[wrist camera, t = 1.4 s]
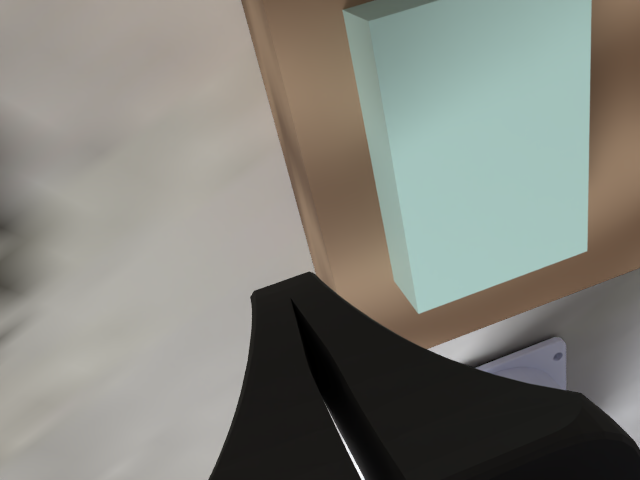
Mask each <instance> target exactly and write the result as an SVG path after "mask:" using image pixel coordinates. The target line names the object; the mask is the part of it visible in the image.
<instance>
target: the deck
mask: <svg viewBox="0 0 640 480" xmlns="http://www.w3.org/2000/svg"><path fill="white" fill-rule="evenodd" d="M241 1H242V5H243V8H244V12H245V16H246V19H247V23H248V27H249V30H250V34H251V38H252V41H253V45H254V48H255V52H256V56H257V59H258V63H259V67H260V70H261V74H262V78H263V81H264V85H265V89H266V92H267V96H268V100H269V103H270V107H271V111H272V114H273V118H274V122H275V125H276V129H277V133H278V136H279V140H280V144H281V147H282V151H283V155H284V158H285V162H286V166H287V169H288V173H289V177H290V180H291V184H292V188H293V191H294V195H295V199H296V202H297V206H298V210H299V213H300V217H301V221H302V224H303V228H304V232H305V235H306V239H307V243H308V246H309V250H310V254H311V257H312V261H313V265H314V268H315V272H316V275H317V276H318V277H319V278H320V279H321V280H322V281H323V282H324V283H325V284H326V285H327V286H328V287H330V288H331V289H332V290H333V291H334V292H336V293H337V294H338V295H339V296H341V297H342V298H343V299H345V300H346V301H347V302H349V303H350V304H351V305H353V306H354V307H356V308H357V309H358V310H360V311H361V312H363V313H364V314H366V315H367V316H369V317H370V318H372V319H373V320H375V321H376V322H378V323H379V324H381V325H383V326H384V327H386V328H388V329H389V330H391V331H393V332H394V333H396V334H398V335H400V336H401V337H403V338H405V339H407V340H409V341H411V342H413V343H415V344H417V345H419V346H421V347H423V348H425V349H429V348H431V347H434V346H436V345H439V344H442V343H444V342H447V341H449V340H452V339H455V338H457V337H460V336H463V335H465V334H468V333H470V332H473V331H476V330H478V329H481V328H484V327H486V326H489V325H491V324H494V323H497V322H499V321H502V320H505V319H507V318H510V317H512V316H515V315H518V314H520V313H523V312H526V311H528V310H531V309H533V308H536V307H539V306H541V305H544V304H546V303H549V302H552V301H554V300H557V299H560V298H562V297H565V296H567V295H570V294H573V293H575V292H578V291H581V290H583V289H586V288H588V287H591V286H594V285H596V284H599V283H602V282H604V281H607V280H609V279H612V278H615V277H617V276H620V275H623V274H625V273H628V272H630V271H633V270H636V269H638V268H640V0H592V4H591V63H590V123H589V182H588V242H587V251H586V252H584V253H581V254H578V255H576V256H573V257H570V258H568V259H565V260H562V261H560V262H557V263H554V264H552V265H549V266H546V267H543V268H541V269H538V270H535V271H533V272H530V273H527V274H525V275H522V276H519V277H517V278H514V279H511V280H509V281H506V282H503V283H500V284H498V285H495V286H492V287H490V288H487V289H484V290H482V291H479V292H476V293H474V294H471V295H468V296H466V297H463V298H460V299H458V300H455V301H452V302H449V303H447V304H444V305H441V306H439V307H436V308H433V309H431V310H428V311H425V312H423V313H420V314H418V313H417V311H416V310H415V309H414V307H413V306H412V305H411V303H410V302H409V301H408V299H407V298H406V296H405V295H404V294H403V292H402V291H401V290H400V288H399V287H398V286H397V284H396V283H395V282H394V278H393V273H392V267H391V262H390V257H389V252H388V246H387V241H386V236H385V231H384V225H383V220H382V215H381V210H380V204H379V199H378V194H377V189H376V183H375V178H374V173H373V168H372V162H371V157H370V152H369V147H368V142H367V136H366V131H365V126H364V121H363V115H362V110H361V105H360V100H359V94H358V89H357V84H356V79H355V73H354V68H353V63H352V58H351V52H350V47H349V42H348V37H347V31H346V26H345V21H344V16H343V11H342V10H344V9H347V8H350V7H354V6H357V5H361V4H364V3H367V2H371V1H374V0H241Z"/></svg>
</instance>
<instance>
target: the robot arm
mask: <svg viewBox="0 0 640 480" xmlns="http://www.w3.org/2000/svg"><path fill="white" fill-rule="evenodd" d="M250 298H251V303H252V330H251V339H250V347H249V355H248V361H247V366H246V371H245V376H244V380H243V385H242V390H241V394H240V397H239V401H238V405H237V408H236V411H235V414H234V417H233V421H232V424H231V427H230V430H229V432H228V435H227V437H226V440H225V443H224V445H223V448H222V450H221V453H220V455H219V458H218V460H217V462H216V465H215V467H214V469H213V471H212V474H211V475H210V477H209V479H208V480H361V478H360V476H359V474H358V472H357V470H356V468H355V466H354V464H353V462H352V460H351V458H350V456H349V454H348V452H347V450H346V448H345V446H344V444H343V442H342V439H341V437H340V435H339V433H338V431H337V429H336V427H335V425H334V422H333V420H334V421H335V423H336V425H337V427H338V429H339V431H340V433H341V435H342V437H343V438H344V440H345V442H346V444H347V446H348V448H349V450H350V452H351V454H352V455H353V457H354V459H355V461H356V463H357V465H358V467H359V469H360V471H361V473H362V474H363V476H364V478H365V480H640V449H639V447H638V446H637V444H636V442H635V441H634V440H633V439H632V438H631V437H630V436H629V435H628V434H627V433H626V432H625V431H624V430H623V429H622V428H621V427H620V426H619V425H618V424H617V423H616V422H615V421H614V420H613V419H612V418H611V417H609V416H608V415H607V414H606V413H605V412H604V411H603V410H601V409H600V408H599V407H598V406H596V405H595V404H594V403H593V402H591V401H590V400H589V399H588V398H586V397H585V396H584V395H583V394H582V393H578V392H572V391H567V390H566V343H565V342H564V341H563V340H562V339H561V338H560V337H553V338H551V339H548V340H545V341H543V342H540V343H538V344H535V345H533V346H530V347H527V348H525V349H522V350H520V351H517V352H515V353H512V354H510V355H507V356H504V357H502V358H499V359H497V360H494V361H492V362H489V363H486V364H484V365H481V366H479V367H476V368H473V367H470V366H467V365H464V364H462V363H459V362H456V361H453V360H450V359H448V358H445V357H443V356H441V355H438V354H436V353H434V352H431V351H429V350H427V349H425V348H423V347H421V346H419V345H417V344H415V343H413V342H411V341H409V340H407V339H405V338H403V337H401V336H400V335H398V334H396V333H394V332H393V331H391V330H389V329H388V328H386V327H384V326H383V325H381V324H379V323H378V322H376V321H375V320H373V319H372V318H370V317H369V316H367V315H366V314H364V313H363V312H361V311H360V310H358V309H357V308H356V307H354V306H353V305H351V304H350V303H349V302H347V301H346V300H345V299H343V298H342V297H341V296H339V295H338V294H337V293H336V292H334V291H333V290H332V289H331V288H330V287H328V286H327V285H326V284H325V283H324V282H323V281H322V280H321V279H320V278H319V277H318V276H317V275H316V274H314V273H311V272H307V273H304V274H301V275H298V276H295V277H292V278H290V279H287V280H284V281H281V282H278V283H276V284H273V285H270V286H267V287H264V288H261V289H259V290H256V291H254V292H253V294H252V295H251V297H250ZM323 400H324V401H323ZM324 402H325V403H324ZM325 404H326V405H325ZM326 406H327V407H326ZM327 408H328V409H327ZM328 410H329V412H330V414H331V416H332V418H333V420H332V418H331V416H330V414H329V412H328Z"/></svg>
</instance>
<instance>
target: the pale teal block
mask: <svg viewBox="0 0 640 480" xmlns="http://www.w3.org/2000/svg"><path fill="white" fill-rule="evenodd" d="M591 4H592V0H374V1H371V2H367V3H364V4H361V5H357V6H354V7H350V8H347V9H344V10H342V11H343V16H344V21H345V26H346V31H347V37H348V42H349V47H350V52H351V58H352V63H353V68H354V73H355V79H356V84H357V89H358V94H359V100H360V105H361V110H362V115H363V121H364V126H365V131H366V136H367V142H368V147H369V152H370V157H371V162H372V168H373V173H374V178H375V183H376V189H377V194H378V199H379V204H380V210H381V215H382V220H383V225H384V231H385V236H386V241H387V246H388V252H389V257H390V262H391V267H392V273H393V278H394V282H395V283H396V284H397V286H398V287H399V288H400V290H401V291H402V292H403V294H404V295H405V296H406V298H407V299H408V301H409V302H410V303H411V305H412V306H413V307H414V309H415V310H416V311H417V313H418V314H420V313H423V312H425V311H428V310H431V309H433V308H436V307H439V306H441V305H444V304H447V303H449V302H452V301H455V300H458V299H460V298H463V297H466V296H468V295H471V294H474V293H476V292H479V291H482V290H484V289H487V288H490V287H492V286H495V285H498V284H500V283H503V282H506V281H509V280H511V279H514V278H517V277H519V276H522V275H525V274H527V273H530V272H533V271H535V270H538V269H541V268H543V267H546V266H549V265H552V264H554V263H557V262H560V261H562V260H565V259H568V258H570V257H573V256H576V255H578V254H581V253H584V252H586V251H587V242H588V182H589V123H590V63H591Z"/></svg>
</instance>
